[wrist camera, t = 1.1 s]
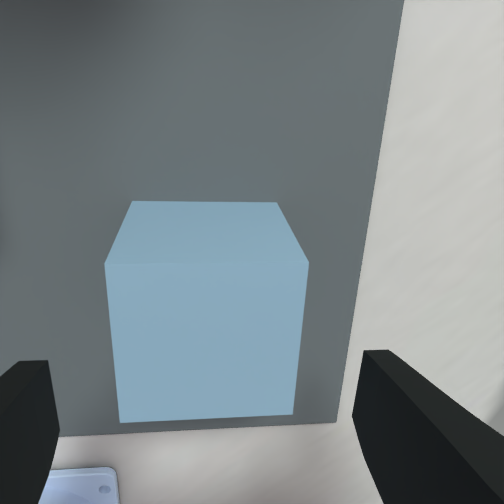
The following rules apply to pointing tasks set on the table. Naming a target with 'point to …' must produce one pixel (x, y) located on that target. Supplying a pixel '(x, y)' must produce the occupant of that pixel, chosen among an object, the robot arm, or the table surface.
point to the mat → (182, 166)
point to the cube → (205, 310)
